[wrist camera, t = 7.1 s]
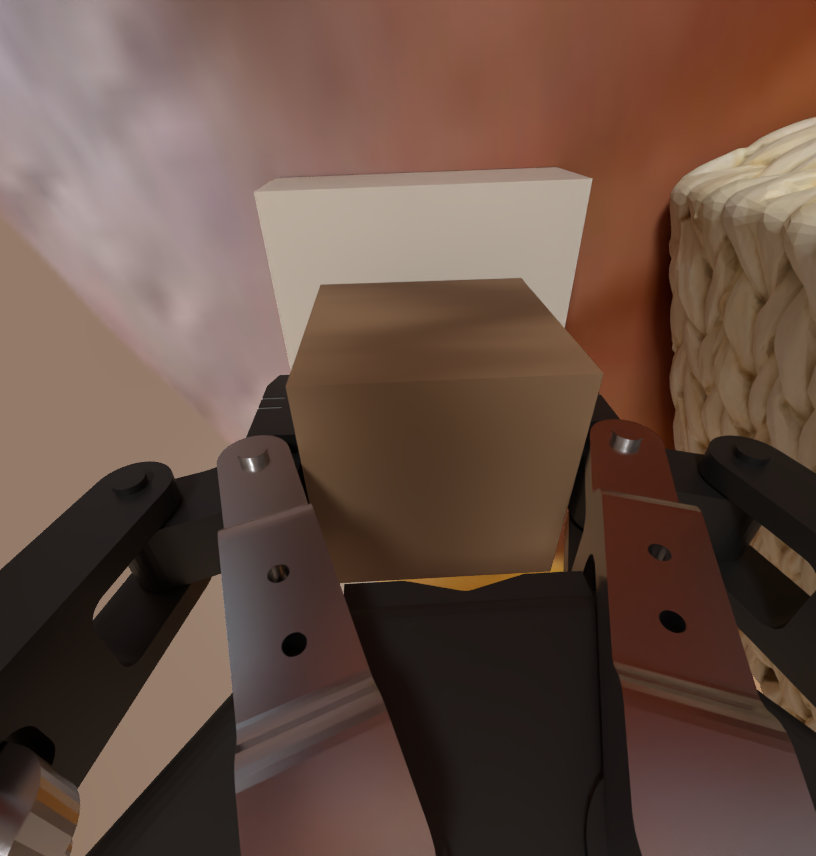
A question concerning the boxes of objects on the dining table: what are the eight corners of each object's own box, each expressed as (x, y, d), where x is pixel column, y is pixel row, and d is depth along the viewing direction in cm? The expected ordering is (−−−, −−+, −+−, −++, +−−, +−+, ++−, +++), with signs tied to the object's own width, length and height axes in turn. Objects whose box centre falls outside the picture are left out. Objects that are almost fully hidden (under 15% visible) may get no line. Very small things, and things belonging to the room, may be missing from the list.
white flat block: (556, 167, 14) (592, 178, 12) (522, 403, 20) (542, 445, 17) (276, 178, 14) (253, 192, 12) (317, 413, 19) (308, 457, 17)
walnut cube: (521, 277, 11) (603, 373, 7) (500, 437, 14) (550, 571, 10) (320, 284, 11) (285, 386, 7) (341, 444, 14) (325, 583, 10)
